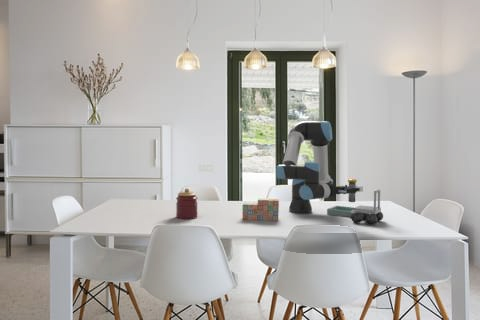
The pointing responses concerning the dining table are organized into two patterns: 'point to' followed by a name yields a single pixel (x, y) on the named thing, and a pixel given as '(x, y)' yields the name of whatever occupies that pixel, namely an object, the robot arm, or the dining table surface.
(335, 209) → the tray
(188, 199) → the canister
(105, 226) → the dining table surface
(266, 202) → the stack of blocks
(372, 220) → the trolley
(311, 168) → the robot arm
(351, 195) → the stop pin
